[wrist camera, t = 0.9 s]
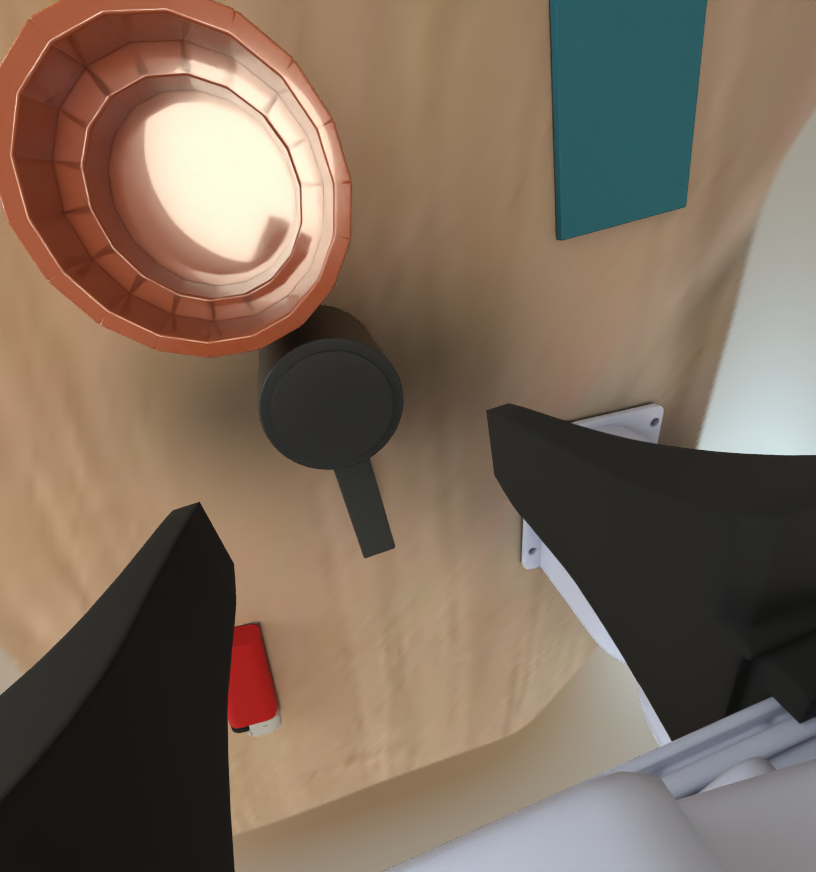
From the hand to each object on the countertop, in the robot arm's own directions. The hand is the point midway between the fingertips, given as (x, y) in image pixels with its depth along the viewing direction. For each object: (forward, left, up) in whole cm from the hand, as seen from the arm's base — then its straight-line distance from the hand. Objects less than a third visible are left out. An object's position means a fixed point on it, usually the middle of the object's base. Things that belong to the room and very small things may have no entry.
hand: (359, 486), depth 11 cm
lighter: (-18, +7, -10) cm, 21 cm away
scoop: (-2, 0, -9) cm, 10 cm away
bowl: (+6, +2, -9) cm, 12 cm away
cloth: (+8, -13, -9) cm, 18 cm away
